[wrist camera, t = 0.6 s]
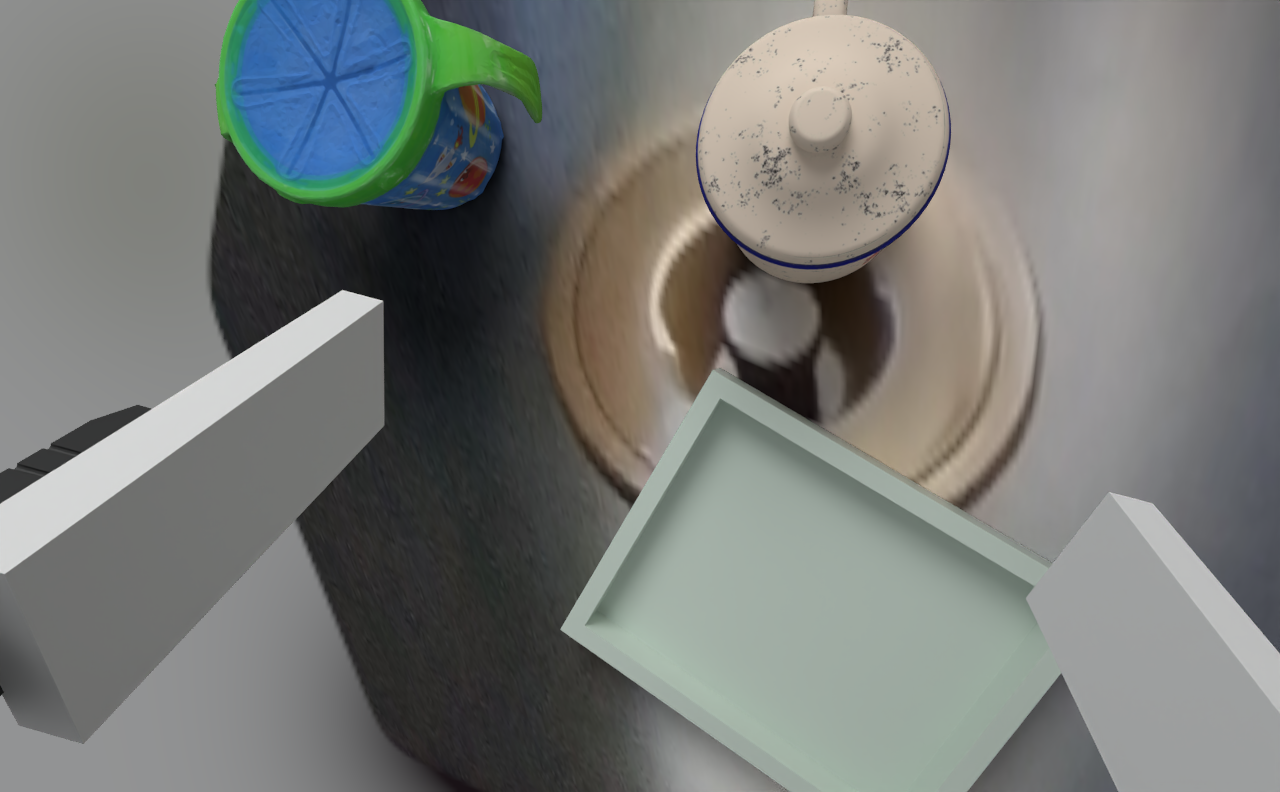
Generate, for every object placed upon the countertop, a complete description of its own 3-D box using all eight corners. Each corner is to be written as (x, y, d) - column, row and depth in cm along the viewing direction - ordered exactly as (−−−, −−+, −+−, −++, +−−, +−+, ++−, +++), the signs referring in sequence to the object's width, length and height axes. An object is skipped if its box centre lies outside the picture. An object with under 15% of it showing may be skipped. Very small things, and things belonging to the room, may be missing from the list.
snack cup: (332, 241, 38) (172, 205, 29) (329, 61, 38) (163, -39, 28) (573, 238, 35) (484, 196, 25) (576, 38, 34) (486, -87, 24)
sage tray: (720, 367, 33) (712, 369, 30) (1083, 581, 30) (1113, 606, 27) (579, 606, 36) (560, 629, 33) (894, 825, 33) (903, 871, 30)
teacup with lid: (899, 293, 31) (956, 263, 20) (714, 284, 33) (671, 252, 22) (926, 37, 30) (1005, -151, 18) (733, 45, 32) (698, -119, 21)
